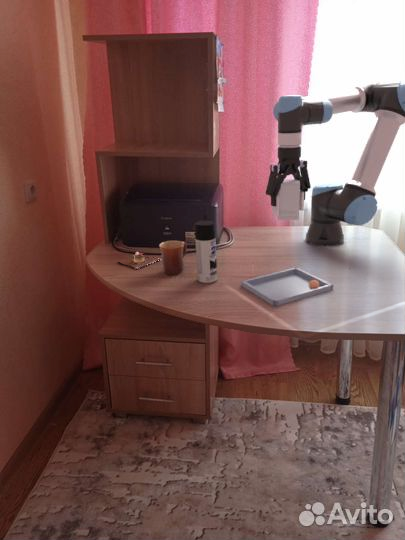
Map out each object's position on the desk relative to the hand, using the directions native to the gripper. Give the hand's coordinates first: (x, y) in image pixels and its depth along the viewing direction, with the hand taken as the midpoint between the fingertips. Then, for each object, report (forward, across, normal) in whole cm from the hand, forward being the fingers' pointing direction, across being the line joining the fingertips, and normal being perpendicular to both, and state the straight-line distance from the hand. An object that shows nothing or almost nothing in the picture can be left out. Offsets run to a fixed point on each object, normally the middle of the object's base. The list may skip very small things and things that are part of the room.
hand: (288, 212), depth 161 cm
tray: (+19, +14, +17) cm, 29 cm away
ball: (+19, +8, +23) cm, 31 cm away
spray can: (+19, +30, -5) cm, 36 cm away
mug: (+19, +35, -19) cm, 44 cm away
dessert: (+20, +43, -35) cm, 59 cm away
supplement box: (+2, 0, 0) cm, 2 cm away
